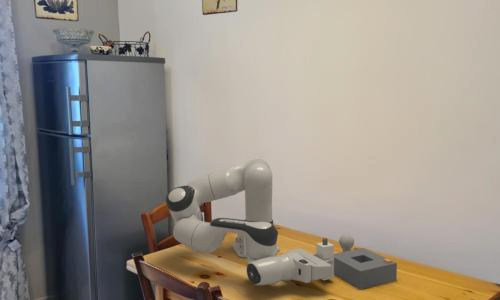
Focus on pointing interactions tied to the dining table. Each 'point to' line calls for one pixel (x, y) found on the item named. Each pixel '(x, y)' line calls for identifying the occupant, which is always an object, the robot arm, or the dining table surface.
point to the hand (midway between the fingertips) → (327, 258)
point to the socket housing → (364, 268)
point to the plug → (326, 254)
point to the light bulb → (346, 242)
